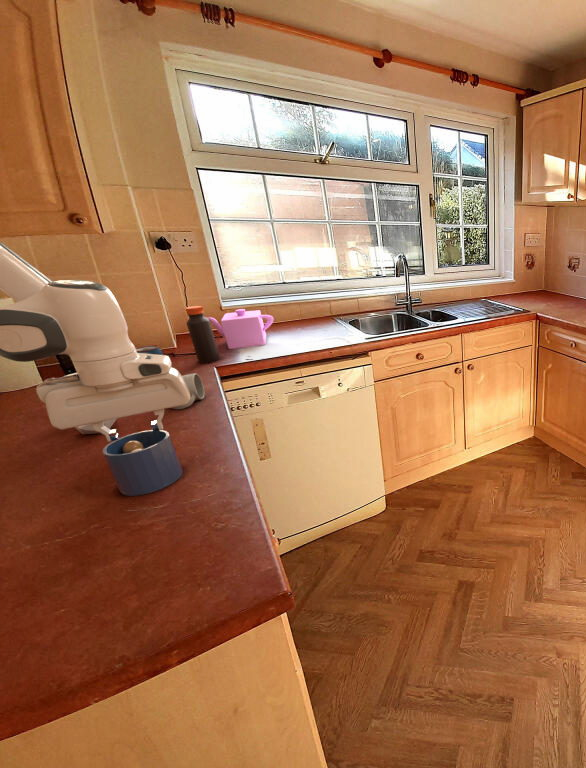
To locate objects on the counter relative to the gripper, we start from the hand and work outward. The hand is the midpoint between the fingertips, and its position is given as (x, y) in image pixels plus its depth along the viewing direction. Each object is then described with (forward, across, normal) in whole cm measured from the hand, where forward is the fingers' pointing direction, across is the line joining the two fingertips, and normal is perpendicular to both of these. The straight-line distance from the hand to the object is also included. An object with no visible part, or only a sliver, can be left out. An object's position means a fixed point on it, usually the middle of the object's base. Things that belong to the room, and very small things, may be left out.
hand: (136, 434), depth 83 cm
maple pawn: (+9, 0, 0) cm, 9 cm away
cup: (+10, 0, -2) cm, 10 cm away
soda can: (+10, -3, +66) cm, 67 cm away
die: (+10, -13, +34) cm, 38 cm away
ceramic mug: (+10, +5, +42) cm, 43 cm away
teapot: (+10, +24, +104) cm, 107 cm away
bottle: (+10, +11, +84) cm, 85 cm away
